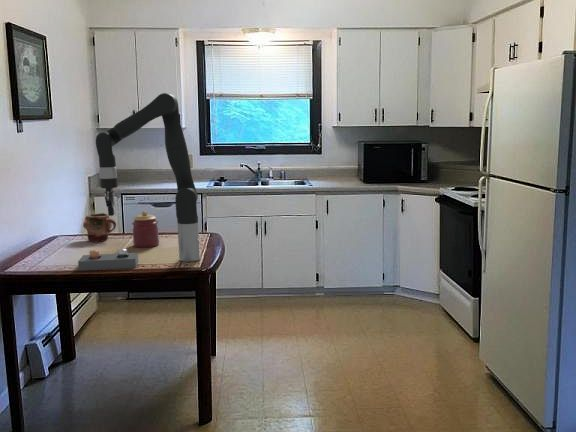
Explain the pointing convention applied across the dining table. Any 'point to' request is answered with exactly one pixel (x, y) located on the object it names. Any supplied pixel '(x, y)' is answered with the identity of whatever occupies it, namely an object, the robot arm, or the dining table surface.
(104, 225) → the brown ceramic mug
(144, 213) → the canister
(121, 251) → the steel button
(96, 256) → the terracotta button
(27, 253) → the dining table surface
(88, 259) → the button panel
